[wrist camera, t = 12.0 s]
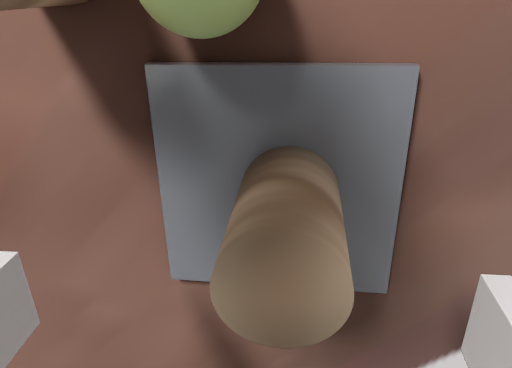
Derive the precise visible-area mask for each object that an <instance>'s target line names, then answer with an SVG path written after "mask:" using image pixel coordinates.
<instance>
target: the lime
mask: <svg viewBox="0 0 512 368" xmlns="http://www.w3.org/2000/svg"><path fill="white" fill-rule="evenodd" d="M139 1H140V3H141V4H142V6H143V7H144V8H145V10H146V11H147V12H148V13H149V14H150V16H151V17H152V18H153V19H154V20H155V21H157V22H158V23H159V24H160V25H162V26H163V27H165V28H166V29H168V30H170V31H172V32H174V33H176V34H179V35H181V36H184V37H189V38H194V39H208V38H214V37H218V36H222V35H224V34H227V33H229V32H231V31H233V30H234V29H236V28H237V27H239V26H240V25H241V24H242V23H243V22H244V21H245V20H246V19H247V18H248V17H249V16H250V15H251V14H252V12H253V11H254V10H255V8H256V6H257V4H258V3H259V1H260V0H139Z"/></svg>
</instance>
